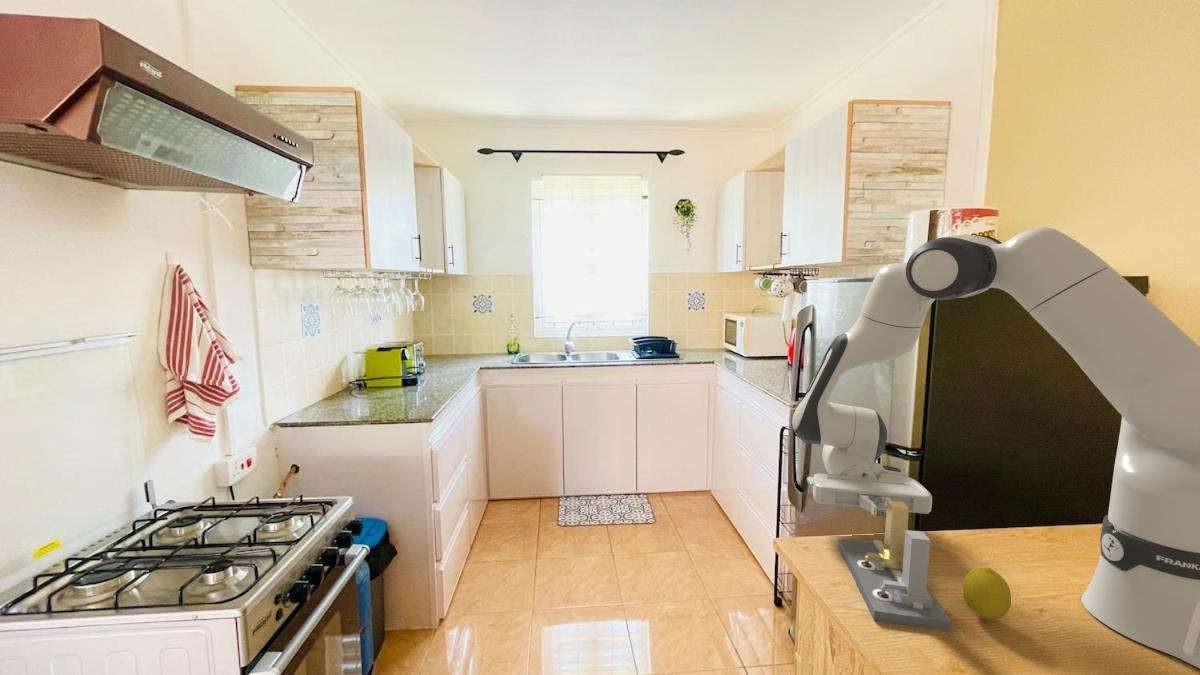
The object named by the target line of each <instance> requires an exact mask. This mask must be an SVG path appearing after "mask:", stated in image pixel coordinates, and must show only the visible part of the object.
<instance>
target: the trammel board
mask: <svg viewBox="0 0 1200 675" xmlns="http://www.w3.org/2000/svg"><path fill="white" fill-rule="evenodd" d="M838 549H839V550H840V552H841V555H842V557H843V559H844V560H845V564H846V565H847V567H848V569H849V572H850V573H851V575H852V577H853V580H854V582H855V584H856V586H857V587H858V590H859V593H860V594H861V596H862V598H863V600H864V603H865V605H866V607H867V609H868V611H869V614H870V615H871V616H872V619H873V621H877V622H885V623H890V624H899V625H906V626H912V627H919V628H926V629H933V630H940V631H945V632H946V631H947V632H951V631H952V624H953V622H952V620H951V619H950V617H949V616H948V614H947V613H946V612H945V610H944V609H943V607H942V605H941V604H940V603H939V601H938V600H937V599H936V597H935V596H934V594H933V593H932V592H931V590H930V589H929V587H928V586H927V585H928V573H929V562H930V549H931V539H930V538H929V537H928V535H927V534H926V533H925V532H924V531H921V530H909V529H907V530H906V531H905V544H904V557H903V569H895V568H887V567H883V565H882V563H881V562H880V561H872V560H869V564H866V563H865V556H866V552H868V553H876V554H878V549H884V543H883V542H882V540H881V539H880V540H879V539H873V540H872V542H871V541H861V540H852V539H851V540H850V539H845V538H844V539H842V538H838Z"/></svg>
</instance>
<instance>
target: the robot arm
mask: <svg viewBox="0 0 1200 675" xmlns="http://www.w3.org/2000/svg"><path fill="white" fill-rule="evenodd" d="M992 289H999V290H1002V291H1004V292H1006V293H1007V294H1009V295H1010V296H1011V297H1012V298H1013V299H1014V300H1016V301H1017V302H1018V303H1019V305H1021V306H1022V308H1023V309H1024V310H1025V311H1027V313H1029V314H1030V315H1031V317H1032V318H1033V319H1034V320H1035V321H1036V322H1037V323H1038V324H1039V325H1040V326H1042V328H1043V329H1044V330H1045V331H1047V333H1048V334H1049V335H1050V336H1051V337H1052V338H1053V339H1054V340H1055V341H1056V342H1057V343H1058V344H1059V345H1060V346H1061V347H1062V348H1063V349H1064V350H1065V351H1066V352H1067V353H1068V355H1070V357H1071V358H1072V359H1073V360H1074V361H1075V363H1076V364H1077V365H1078V366H1079V368H1080V369H1081V370H1082V371H1083V373H1085V375H1086V376H1087V378H1089V380H1090V381H1091V382H1092V383H1093V384H1094V386H1095V387H1096V388H1097V389H1098V391H1099V392H1100V393H1101V394H1102V395H1103V397H1104V398H1106V400H1107V401H1108V402H1109V403H1110V404H1111V405H1112V407H1113V408H1115V410H1116V411H1117V412H1118V413H1119V414H1120V415H1121V422H1120V430H1119V436H1118V443H1117V449H1116V453H1115V454H1116V455H1115V461H1114V466H1113V467H1114V468H1113V474H1112V482H1111V491H1110V498H1109V505H1108V506H1109V507H1108V512H1107V514H1106V515H1105V516H1103V519H1102V526H1101V532H1100V538H1099V539H1100V544H1099V545H1100V556H1099V560H1098V563H1097V566H1096V569H1095V572H1094V573H1093V576H1092V578H1091V580H1090V582H1089V585H1088V586H1087V588H1086V590H1085V591H1084V592H1083V594H1082V595H1081V603H1082V605H1083V607H1084V608H1085V609H1086V610H1087V611H1088V612H1089V613H1090V614H1091V615H1092V616H1093V617H1094V618H1095V619H1097V620H1099V621H1100V622H1101V623H1103V624H1104V625H1106V626H1107V627H1109V628H1111V629H1112V630H1113V631H1115V632H1117V633H1119V634H1121V635H1122V636H1125V637H1127V638H1129V639H1131V640H1133V641H1136V642H1137V643H1140V644H1142V645H1145V646H1147V647H1149V648H1151V649H1154V650H1156V651H1160V652H1163V653H1165V654H1168V655H1170V656H1173V657H1175V658H1178V659H1180V660H1181V661H1184V662H1185V663H1188V664H1189V665H1192V666H1194V667H1196V668H1198V669H1200V345H1199V344H1197V342H1195V341H1194V340H1193V339H1192V338H1190V336H1189V335H1187V333H1185V332H1184V331H1183V330H1182V329H1181V328H1180V327H1179V326H1178V325H1177V324H1176V323H1175V322H1173V321H1172V320H1171V319H1170V318H1169V317H1168V316H1167V315H1166V314H1165V313H1164V312H1163V311H1162V310H1161V309H1160V308H1158V307H1157V306H1156V305H1155V304H1154V303H1153V302H1152V301H1151V300H1150V299H1148V298H1147V297H1146V296H1145V295H1144V294H1143V293H1142V292H1140V291H1139V290H1138V289H1137V288H1136V287H1134V286H1133V285H1132V284H1131V283H1130V282H1129V280H1127V279H1126V278H1124V276H1122V275H1121V274H1120V273H1119V272H1118V271H1117V270H1115V269H1114V268H1113V267H1112V266H1110V265H1109V263H1107V262H1106V261H1105V260H1103V259H1102V258H1101V257H1100V256H1098V255H1097V254H1096V253H1094V252H1093V251H1092V250H1090V249H1089V248H1087V247H1086V246H1084V245H1083V244H1081V243H1080V242H1079V241H1077V240H1075V239H1073V237H1071V236H1069V235H1067V234H1066V233H1064V232H1061V231H1060V230H1058V229H1055V228H1051V227H1047V226H1046V227H1045V226H1044V227H1043V226H1042V227H1036V228H1031V229H1027V230H1024V231H1022V232H1020V233H1018V234H1016V235H1014V236H1012V237H1011V238H1009V239H1008V240H1006V241H1004V242H1002V241H1001V240H999V239H997V238H995V237H992V236H989V235H983V234H976V235H975V234H954V235H949V236H944V237H938V238H934V239H931V240H928V241H927V242H925V243H923V244H922V245H920V246H919V247H917V249H915V250H914V251H913V252H912V254H911V255H910V256H909V258H908V259H907V262H894V263H890V264H887V265H884V266H883V267H882V268H881V269H879V270H878V271H877V273H876V275H875V276H874V279H873V281H872V283H871V284H870V286H869V288H868V291H867V293H866V295H865V298H864V300H863V303H862V307H861V310H860V313H859V315H858V318H857V320H855V323H854V324H853V325H852V326H851V327H850V328H849V329H848V330H847V331H846V332H845V333H842V334H839V335H836V337H835V338H834V339H833V340H832V342H831V343H830V345H829V347H828V348H827V350H826V352H825V354H824V355H823V358H822V359H821V361H820V363H819V366H818V368H817V369H816V372H815V374H814V375H813V378H812V380H811V381H810V383H809V385H808V388H807V390H806V392H805V393H804V395H803V396H802V398H801V399H800V400H799V402H798V404H797V405H796V407H795V410H794V411H793V415H792V420H791V421H792V422H791V423H792V424H791V425H792V426H791V427H792V430H793V432H794V434H796V436H797V437H798V438H799V439H800V440H801V441H802V442H803V443H804V444H809V445H810V444H811V445H818V446H820V445H821V446H822V445H823V448H822V452H821V453H822V454H821V455H822V462H823V466H824V468H825V470H826V472H827V473H825V472H824V473H823V472H818V473H815V474H813V475H812V476H807V477H806V481H807V484H808V485H809V486H811V487H812V496H813V499H814V501H815V502H817V503H819V504H822V505H830V506H839V507H840V506H841V507H852V508H861V509H863V510H865V511H867V512H870V513H871V516H873V517H874V516H875V517H884V518H886V512H887V500H888V501H899V502H904V503H905V505H906V506H907V507H908V508H909V513H913V514H921V515H922V514H924V515H928V514H930V512H932V506H933V495H932V494H931V493H930V491H928V489H926V488H925V486H924V485H922V484H921V483H920V482H919V481H917V480H916V479H914V478H912V477H909V473H908V472H907V470H905V469H903V468H899V467H894V466H889V465H885V464H882V463H878V462H876V461H877V460H878V459H879V458H880V457H882V455H883V453H884V450H885V449H886V444H887V440H888V430H887V425H886V424H885V421H884V419H883V418H882V416H881V414H879V413H878V412H877V411H876V410H875V409H871V408H867V407H862V406H854V405H848V404H841V403H836V402H831V401H829V399H830V398H831V396H832V393H833V392H834V390H835V389H836V388H835V387H836V386H837V384H838V382H839V380H840V379H841V378H842V376H843V375H844V374H845V373H846V372H848V371H850V370H852V369H855V368H858V367H863V366H867V365H872V364H873V365H874V364H881V363H887V362H890V361H894V360H897V359H899V358H901V357H903V356H904V355H907V354H908V353H909V352H910V351H912V349H913V348H914V347H915V345H916V343H917V342H918V339H919V337H920V335H921V332H922V328H923V325H924V323H925V320H926V317H927V313H928V312H929V309H930V307H931V305H932V303H934V302H935V301H936V300H937V301H947V300H953V299H963V298H964V299H965V298H971V297H972V296H976V295H979V294H982V293H984V292H987V291H989V290H992Z"/></svg>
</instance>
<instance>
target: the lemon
mask: <svg viewBox="0 0 1200 675" xmlns="http://www.w3.org/2000/svg"><path fill="white" fill-rule="evenodd" d="M1011 594H1012V593H1011V589H1010V587H1009V585H1008V583H1007V581H1006V580H1005V579H1004V577H1003V576H1002V575H1001V574H999V573H998V572H996V571H995V570H993V569H992V568H990V567H977V568H976V567H975V568H973V569H971V570H969V571H968V572H967V574H966V575H965V576H964V579H963V582H962V595H963V599H964V602H965V603H966V605H967V606H968V607H969V609H970V610H971V611H973V613H975V614H976V615H977V616H979V617H980V618H981V619H983V620H998V619H1002V618H1004V617H1005V615H1007V614H1008V612H1010V609H1011V604H1012V595H1011Z"/></svg>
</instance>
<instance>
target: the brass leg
mask: <svg viewBox="0 0 1200 675" xmlns="http://www.w3.org/2000/svg"><path fill="white" fill-rule="evenodd" d="M909 513H910V512H909V508H908V507H907V506H906V505H905V503H904V502H899V501H888V500H887V512H886V517H885V528H884V530H885V531H884V541H883V542H884V543H883V544H884V549H878V554H876V553H868V552H866V556H865V563H866V564H869V560H872V561H880V562H881V563H882V565H883V567H887V568H895V569H903V557H904V544H905V531H906V530H908V527H909V526H908V524H909Z"/></svg>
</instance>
